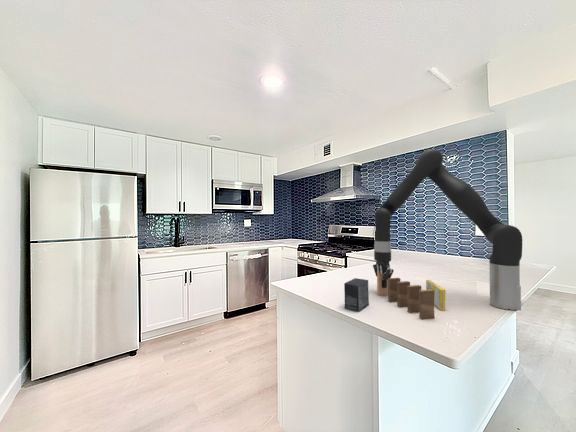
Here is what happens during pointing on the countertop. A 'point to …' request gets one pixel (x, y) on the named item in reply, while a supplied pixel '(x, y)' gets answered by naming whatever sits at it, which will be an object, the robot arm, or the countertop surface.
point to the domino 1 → (379, 286)
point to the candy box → (437, 294)
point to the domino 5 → (426, 304)
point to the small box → (356, 294)
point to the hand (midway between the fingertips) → (382, 287)
